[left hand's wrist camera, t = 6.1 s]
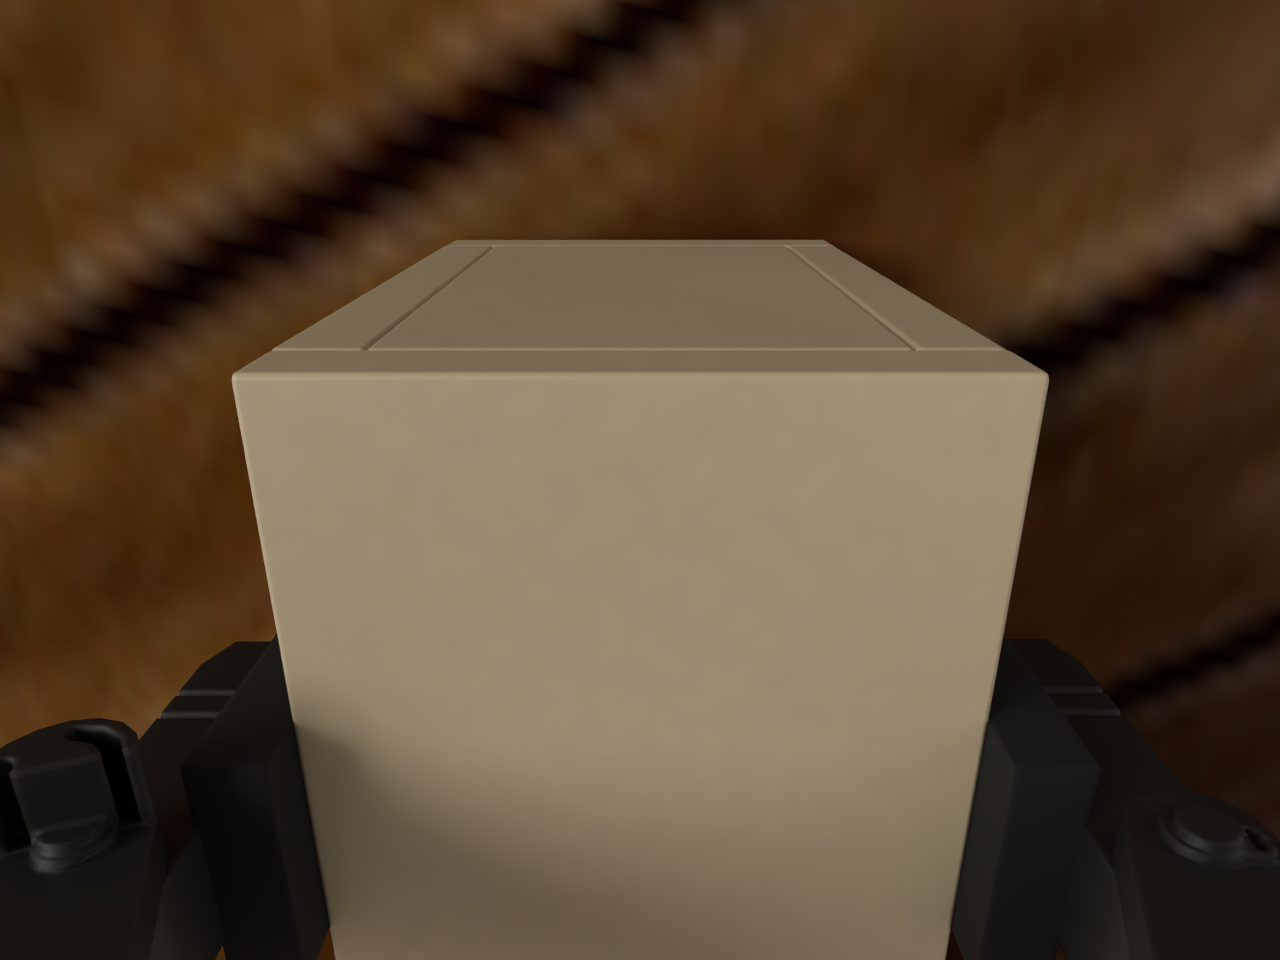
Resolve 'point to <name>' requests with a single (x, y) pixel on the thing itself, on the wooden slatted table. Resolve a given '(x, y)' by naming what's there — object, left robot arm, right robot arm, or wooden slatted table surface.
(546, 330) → the cabinet
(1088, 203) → the wooden slatted table surface
